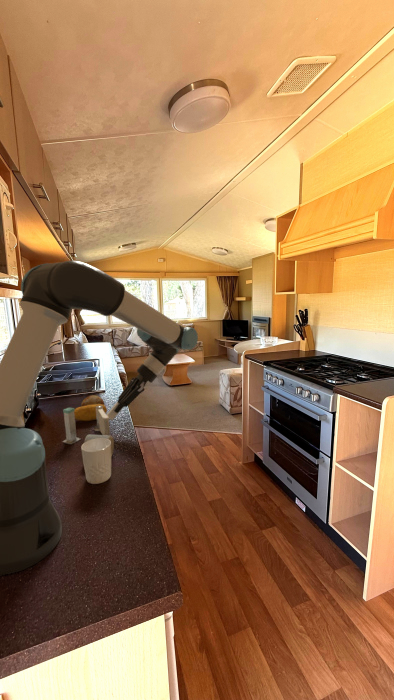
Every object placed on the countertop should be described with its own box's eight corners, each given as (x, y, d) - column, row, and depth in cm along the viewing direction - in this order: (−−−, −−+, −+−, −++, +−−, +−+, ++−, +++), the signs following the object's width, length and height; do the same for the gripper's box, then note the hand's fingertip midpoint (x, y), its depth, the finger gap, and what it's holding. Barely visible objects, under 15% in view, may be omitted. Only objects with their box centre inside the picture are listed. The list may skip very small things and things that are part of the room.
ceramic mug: (110, 463, 93) (109, 439, 91) (83, 464, 92) (81, 441, 91) (117, 447, 103) (115, 425, 102) (92, 448, 102) (91, 426, 101)
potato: (107, 421, 125) (106, 405, 124) (72, 425, 121) (70, 409, 120) (107, 414, 132) (106, 399, 131) (73, 418, 128) (72, 403, 127)
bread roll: (89, 420, 135) (92, 406, 132) (75, 407, 139) (78, 394, 136) (106, 413, 143) (110, 400, 140) (92, 401, 147) (96, 388, 144)
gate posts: (69, 445, 104) (66, 412, 102) (61, 441, 107) (57, 409, 105) (110, 427, 118) (108, 398, 116) (102, 424, 121) (99, 396, 119)
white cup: (111, 467, 90) (109, 436, 89) (114, 481, 83) (112, 448, 81) (84, 472, 88) (81, 441, 86) (84, 488, 80) (81, 453, 79)
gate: (99, 429, 115) (97, 408, 114) (103, 428, 116) (102, 407, 115) (105, 441, 105) (103, 418, 104) (110, 440, 106) (108, 417, 105)
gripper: (162, 379, 111) (119, 430, 107) (153, 371, 123) (114, 417, 119) (147, 366, 108) (103, 418, 104) (139, 360, 120) (99, 406, 116)
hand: (109, 417), depth 112 cm, fingers closed
